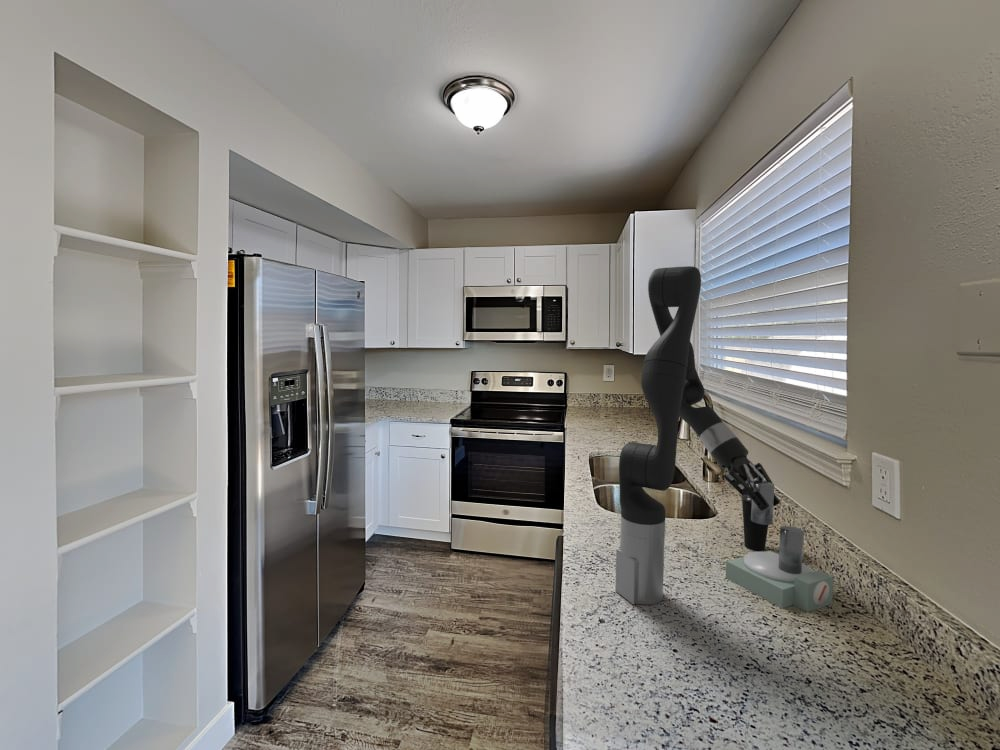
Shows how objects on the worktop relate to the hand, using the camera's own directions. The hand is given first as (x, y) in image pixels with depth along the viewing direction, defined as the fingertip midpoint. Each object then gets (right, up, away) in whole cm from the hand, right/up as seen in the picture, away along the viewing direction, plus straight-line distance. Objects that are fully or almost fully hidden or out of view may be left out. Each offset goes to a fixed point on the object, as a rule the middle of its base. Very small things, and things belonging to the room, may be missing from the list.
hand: (771, 506), depth 107 cm
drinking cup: (+7, -17, +20) cm, 27 cm away
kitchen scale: (+1, -18, -2) cm, 18 cm away
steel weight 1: (-1, -4, +2) cm, 5 cm away
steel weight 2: (+2, -13, -3) cm, 14 cm away
